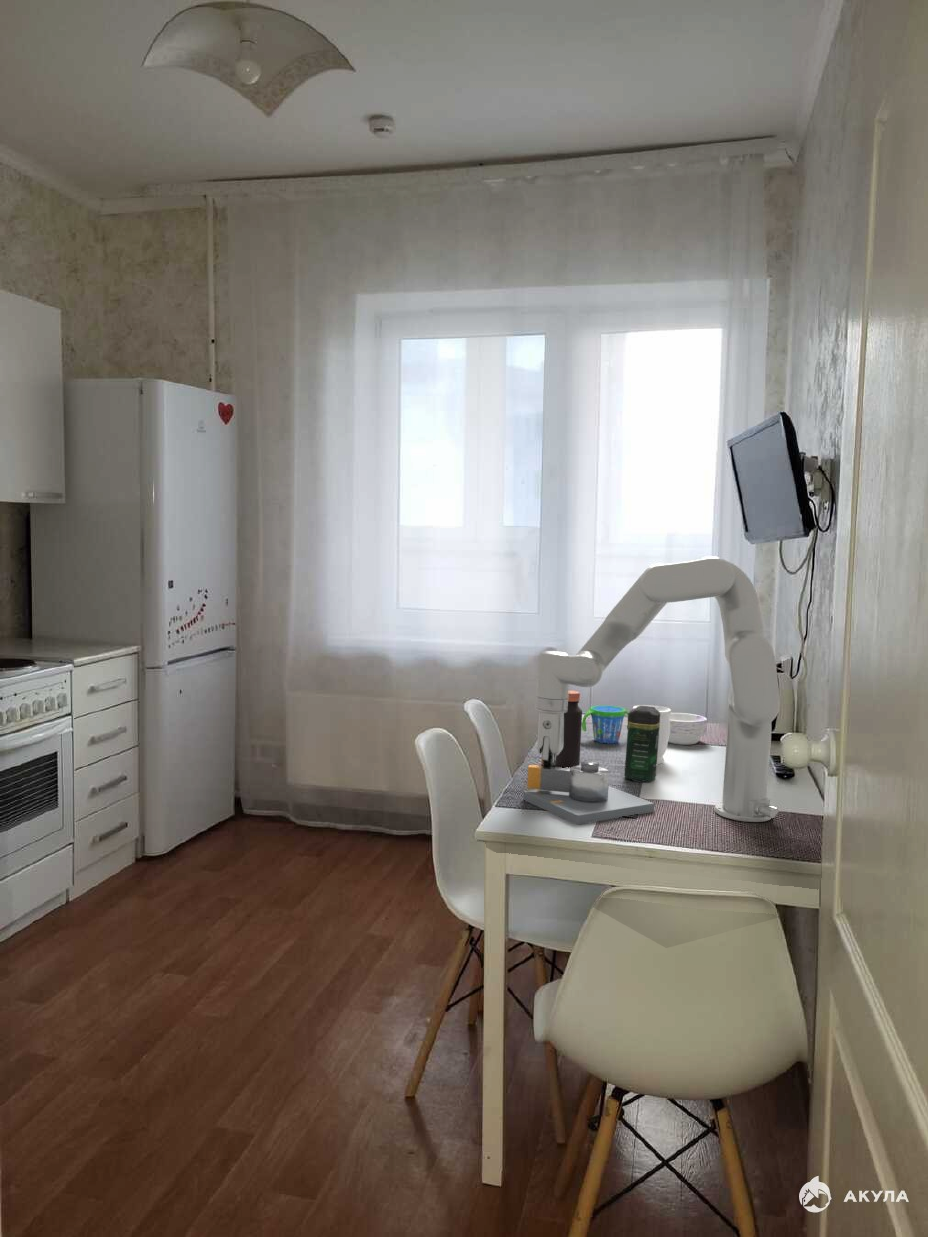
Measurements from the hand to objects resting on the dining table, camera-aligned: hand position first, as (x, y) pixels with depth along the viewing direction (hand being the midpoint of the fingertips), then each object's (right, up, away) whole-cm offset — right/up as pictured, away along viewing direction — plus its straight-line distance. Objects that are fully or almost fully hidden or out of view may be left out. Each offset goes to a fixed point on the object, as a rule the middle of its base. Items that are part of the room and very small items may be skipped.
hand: (547, 781), depth 220 cm
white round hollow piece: (+47, 0, +67) cm, 82 cm away
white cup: (+32, -2, +41) cm, 52 cm away
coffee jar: (+26, -3, +22) cm, 34 cm away
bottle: (+8, -1, +32) cm, 33 cm away
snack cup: (+23, +1, +63) cm, 68 cm away
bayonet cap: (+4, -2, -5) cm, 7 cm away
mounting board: (+9, -5, -6) cm, 11 cm away
